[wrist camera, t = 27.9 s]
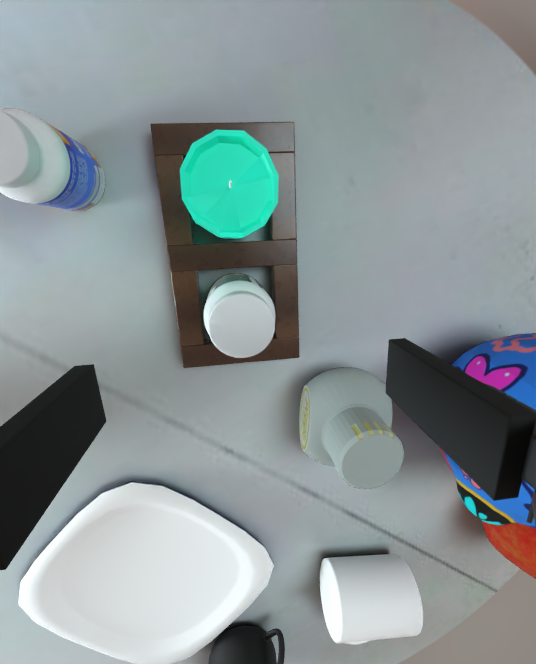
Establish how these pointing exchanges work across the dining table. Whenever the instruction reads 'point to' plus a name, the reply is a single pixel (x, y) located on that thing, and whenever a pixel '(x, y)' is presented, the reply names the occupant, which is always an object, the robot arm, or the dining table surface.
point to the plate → (145, 575)
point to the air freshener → (350, 426)
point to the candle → (229, 183)
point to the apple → (515, 544)
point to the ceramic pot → (522, 384)
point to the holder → (193, 257)
